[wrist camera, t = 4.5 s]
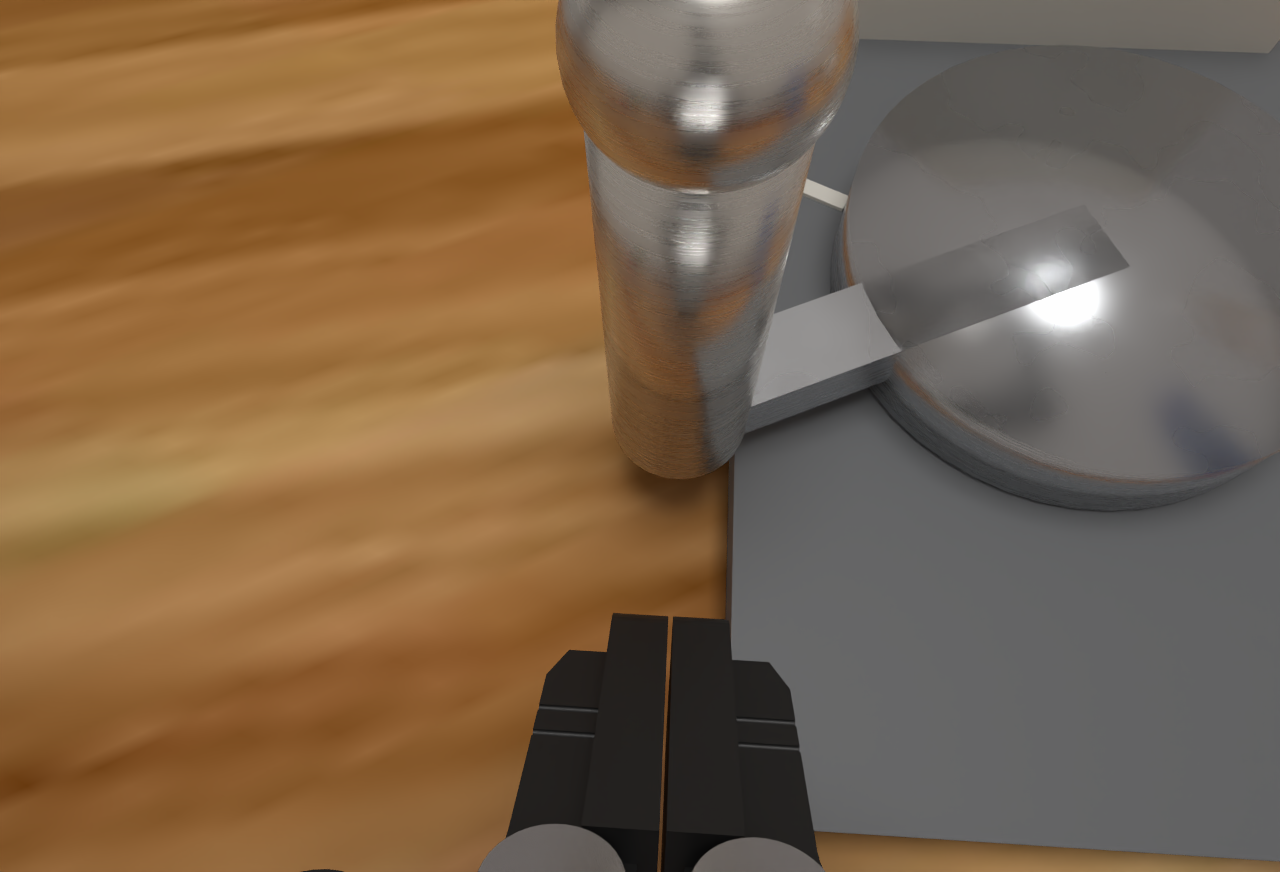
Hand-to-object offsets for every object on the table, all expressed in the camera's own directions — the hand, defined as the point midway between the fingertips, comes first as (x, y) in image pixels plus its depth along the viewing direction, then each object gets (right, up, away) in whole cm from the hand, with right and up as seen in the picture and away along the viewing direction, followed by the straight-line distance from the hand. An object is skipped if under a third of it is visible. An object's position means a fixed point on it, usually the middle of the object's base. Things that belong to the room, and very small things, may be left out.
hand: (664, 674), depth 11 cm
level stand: (+9, +6, +9) cm, 14 cm away
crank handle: (+6, +5, +7) cm, 11 cm away
